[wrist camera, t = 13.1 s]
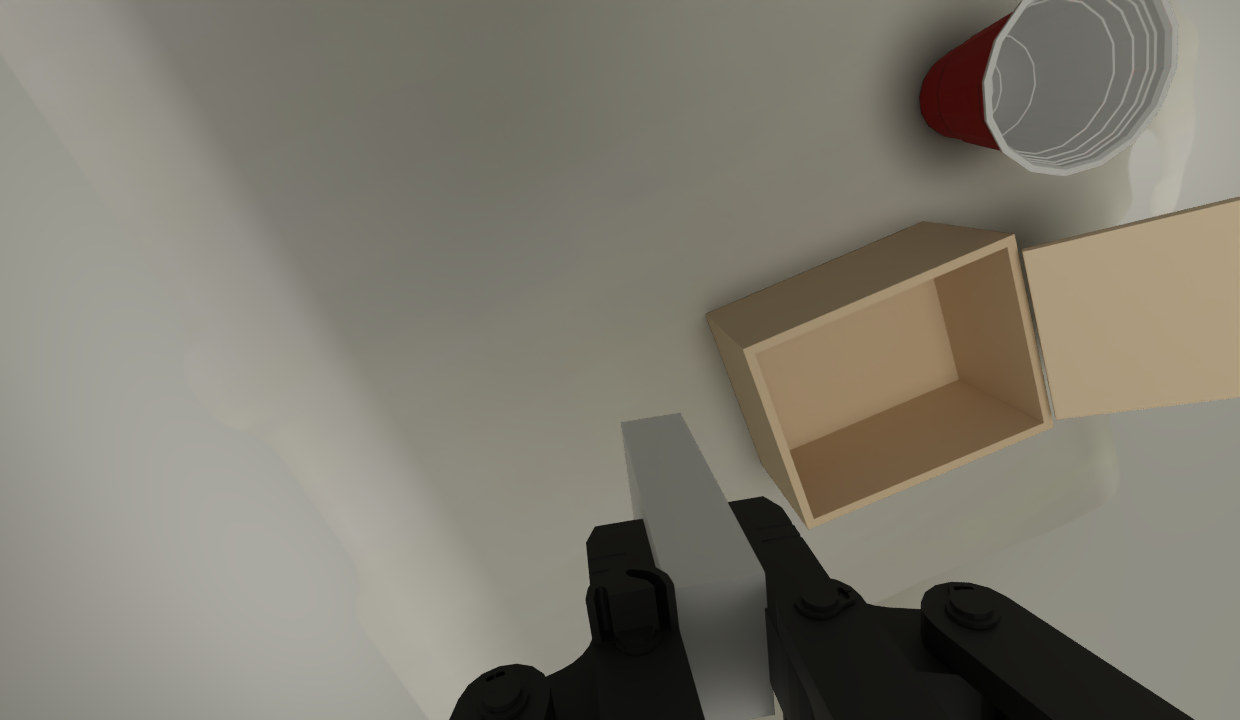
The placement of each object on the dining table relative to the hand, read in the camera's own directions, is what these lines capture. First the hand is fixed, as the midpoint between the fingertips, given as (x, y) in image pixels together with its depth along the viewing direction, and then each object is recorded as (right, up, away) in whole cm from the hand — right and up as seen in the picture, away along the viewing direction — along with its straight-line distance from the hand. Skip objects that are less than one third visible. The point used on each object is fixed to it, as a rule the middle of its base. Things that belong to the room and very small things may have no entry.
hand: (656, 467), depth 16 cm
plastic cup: (+23, +22, +30) cm, 44 cm away
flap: (+26, +4, +25) cm, 36 cm away
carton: (+17, +4, +35) cm, 39 cm away
